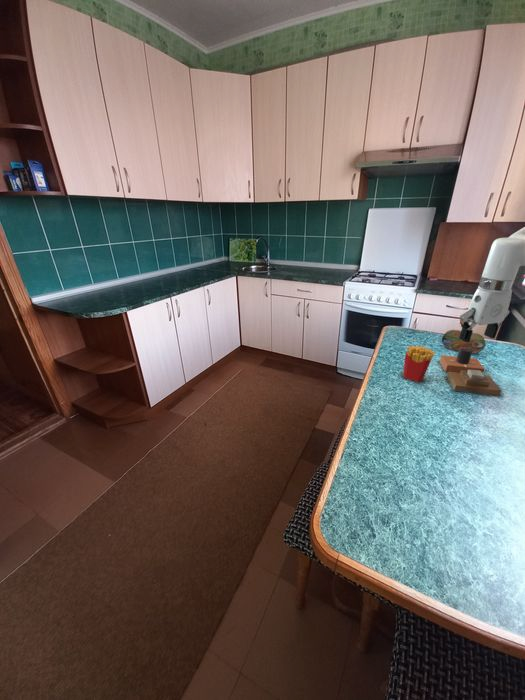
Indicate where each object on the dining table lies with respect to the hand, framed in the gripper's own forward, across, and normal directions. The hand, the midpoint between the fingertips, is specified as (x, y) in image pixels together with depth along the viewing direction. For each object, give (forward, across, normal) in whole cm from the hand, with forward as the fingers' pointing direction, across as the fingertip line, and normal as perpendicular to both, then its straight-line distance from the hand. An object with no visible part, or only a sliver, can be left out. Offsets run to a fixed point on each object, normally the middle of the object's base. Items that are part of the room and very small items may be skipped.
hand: (476, 338), depth 90 cm
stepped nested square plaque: (+18, +4, -1) cm, 19 cm away
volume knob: (+15, +10, +10) cm, 21 cm away
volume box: (+18, +10, +10) cm, 23 cm away
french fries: (+18, -11, +9) cm, 23 cm away
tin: (+18, +23, +22) cm, 37 cm away
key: (+15, +4, -1) cm, 15 cm away
